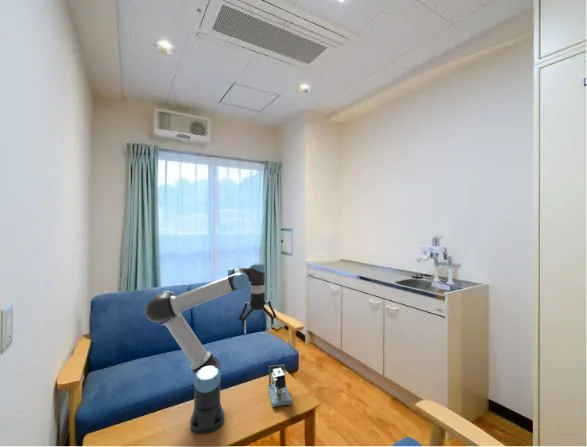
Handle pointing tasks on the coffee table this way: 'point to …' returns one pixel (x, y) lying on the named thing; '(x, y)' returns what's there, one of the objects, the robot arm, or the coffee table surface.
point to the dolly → (280, 398)
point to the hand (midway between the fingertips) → (257, 331)
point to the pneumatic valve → (278, 379)
